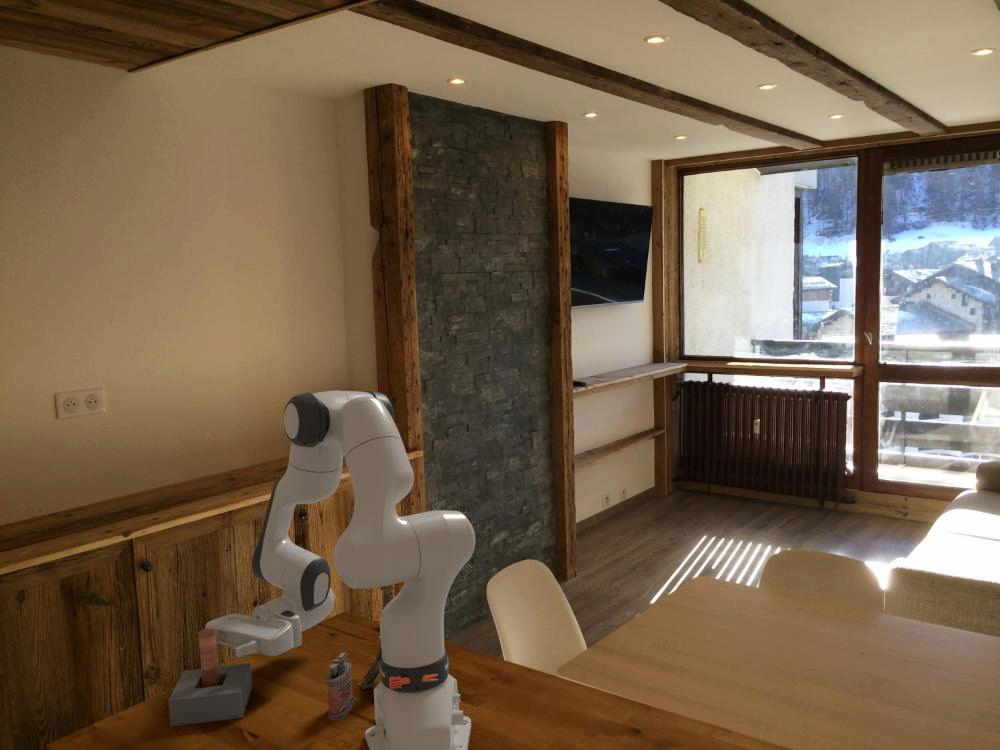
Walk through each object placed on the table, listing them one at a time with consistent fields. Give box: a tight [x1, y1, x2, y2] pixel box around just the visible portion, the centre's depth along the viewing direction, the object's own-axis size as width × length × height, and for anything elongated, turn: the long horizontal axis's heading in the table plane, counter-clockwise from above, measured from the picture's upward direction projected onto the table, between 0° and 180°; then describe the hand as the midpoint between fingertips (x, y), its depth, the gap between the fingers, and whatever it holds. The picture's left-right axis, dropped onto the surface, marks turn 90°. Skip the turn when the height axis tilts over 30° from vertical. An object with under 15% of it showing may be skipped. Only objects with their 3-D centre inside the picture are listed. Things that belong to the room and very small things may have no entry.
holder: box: [167, 662, 253, 727], centre depth 164 cm, size 13×13×5 cm
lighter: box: [325, 652, 355, 721], centre depth 160 cm, size 8×3×10 cm, turn 168°
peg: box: [197, 628, 220, 688], centre depth 164 cm, size 3×3×14 cm
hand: (218, 649), depth 166 cm, fingers open, 8 cm apart
